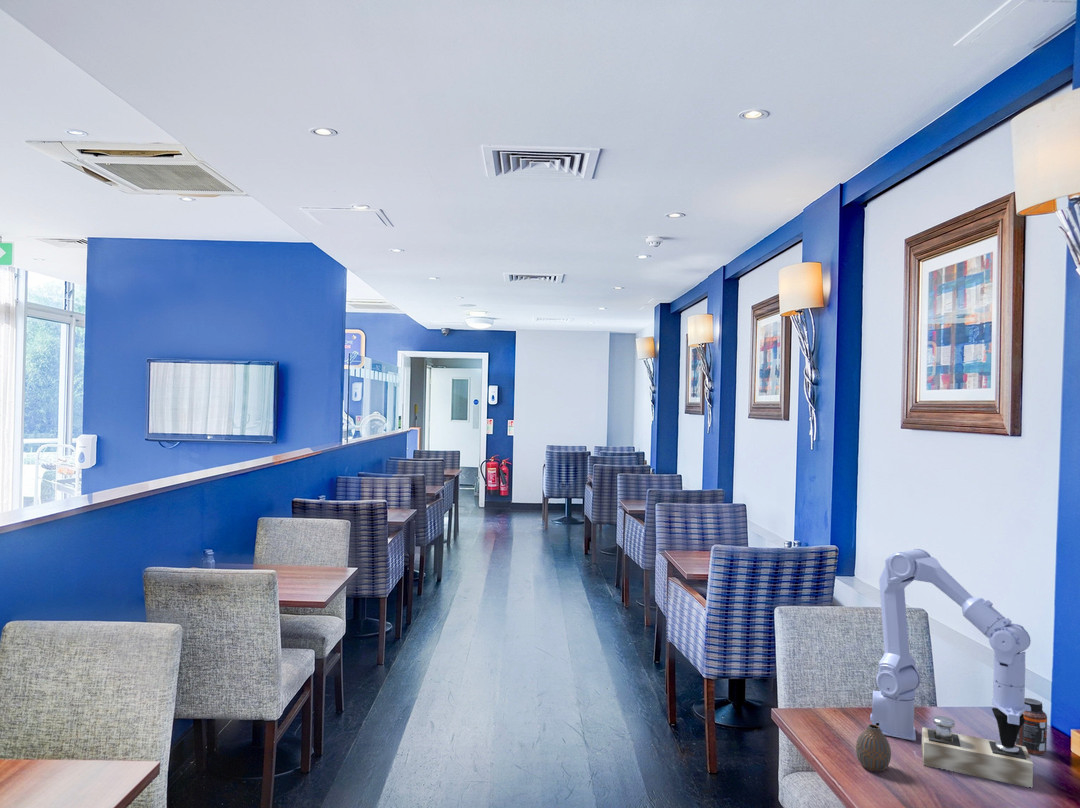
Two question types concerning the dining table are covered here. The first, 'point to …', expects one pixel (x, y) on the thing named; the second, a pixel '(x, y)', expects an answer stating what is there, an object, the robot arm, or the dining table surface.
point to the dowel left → (943, 727)
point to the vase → (873, 749)
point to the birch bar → (977, 758)
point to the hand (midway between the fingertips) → (1007, 746)
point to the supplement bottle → (1033, 728)
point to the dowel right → (1007, 748)
